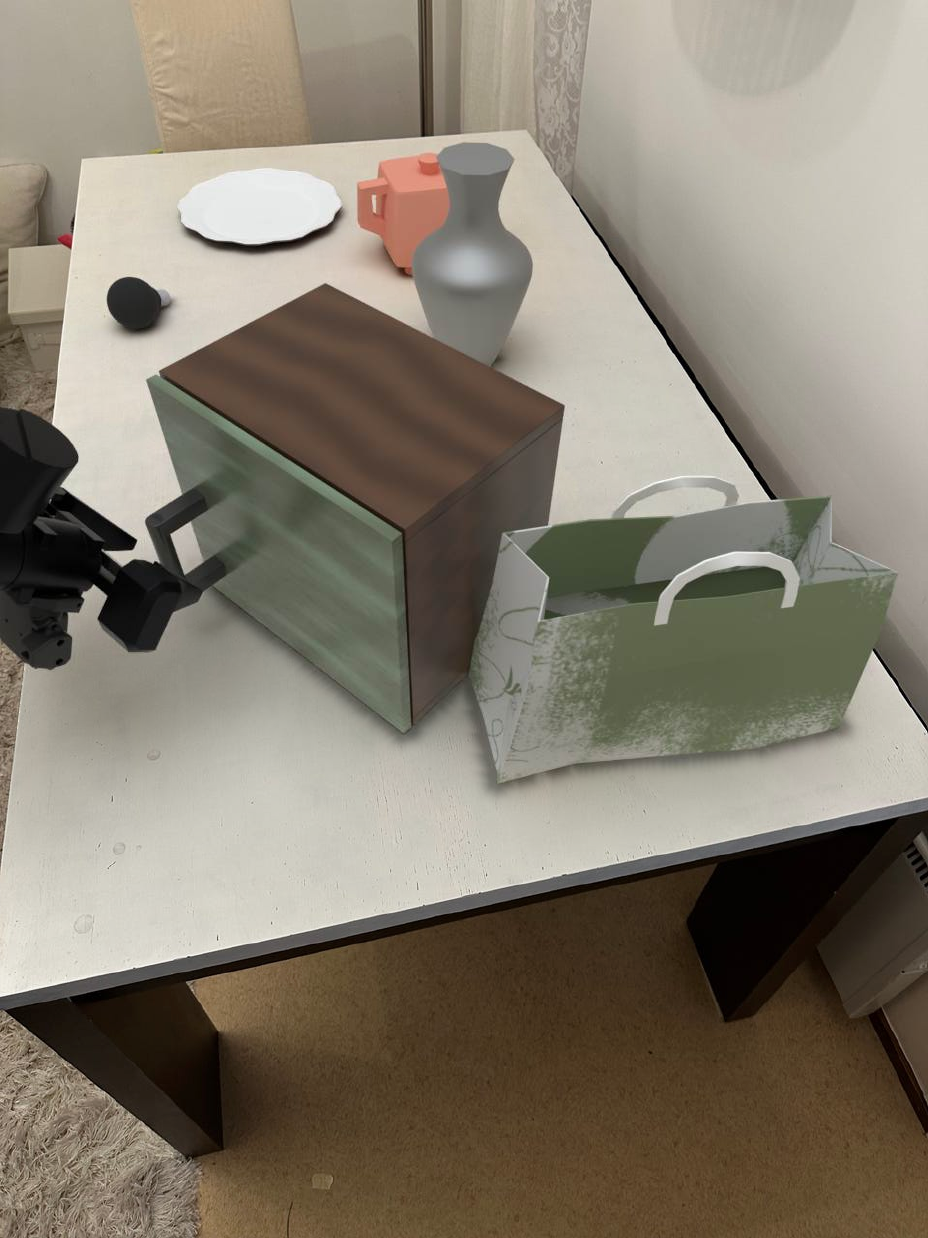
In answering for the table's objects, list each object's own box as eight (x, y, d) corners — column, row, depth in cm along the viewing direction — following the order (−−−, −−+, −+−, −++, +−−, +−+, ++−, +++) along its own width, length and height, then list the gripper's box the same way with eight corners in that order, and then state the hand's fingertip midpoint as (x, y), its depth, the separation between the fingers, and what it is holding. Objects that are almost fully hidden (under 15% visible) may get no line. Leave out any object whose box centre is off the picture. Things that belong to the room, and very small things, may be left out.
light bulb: (181, 271, 114) (130, 278, 106) (190, 321, 117) (141, 332, 108) (143, 272, 116) (90, 279, 108) (153, 321, 119) (102, 331, 111)
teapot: (488, 226, 133) (493, 129, 122) (516, 265, 125) (523, 166, 114) (352, 244, 128) (344, 145, 117) (372, 286, 121) (365, 185, 110)
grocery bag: (776, 617, 84) (867, 429, 66) (841, 735, 75) (966, 557, 57) (461, 663, 80) (466, 475, 62) (492, 794, 71) (509, 620, 53)
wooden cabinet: (413, 726, 74) (405, 529, 56) (220, 578, 85) (158, 370, 66) (536, 609, 83) (565, 404, 64) (348, 488, 94) (325, 282, 75)
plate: (217, 172, 143) (215, 160, 141) (360, 189, 140) (359, 177, 139) (154, 243, 127) (150, 230, 126) (313, 263, 124) (312, 251, 123)
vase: (545, 353, 111) (567, 152, 92) (482, 406, 104) (492, 200, 84) (457, 316, 116) (460, 119, 97) (391, 364, 109) (380, 161, 89)
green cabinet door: (361, 775, 71) (333, 586, 52) (166, 615, 82) (86, 410, 63) (411, 727, 74) (402, 532, 56) (218, 578, 85) (156, 373, 66)
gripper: (-104, 583, 65) (70, 595, 79) (30, 718, 58) (196, 705, 72) (-54, 454, 63) (116, 490, 77) (92, 578, 56) (251, 592, 70)
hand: (166, 569), depth 74 cm, fingers open, 9 cm apart
